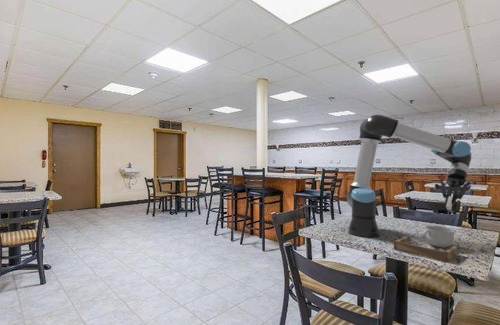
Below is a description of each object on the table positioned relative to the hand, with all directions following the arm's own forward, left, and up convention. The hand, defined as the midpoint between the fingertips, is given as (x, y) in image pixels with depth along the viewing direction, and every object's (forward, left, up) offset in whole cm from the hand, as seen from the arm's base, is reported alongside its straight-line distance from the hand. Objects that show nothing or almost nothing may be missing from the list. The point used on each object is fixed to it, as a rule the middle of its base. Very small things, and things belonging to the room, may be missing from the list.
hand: (448, 208), depth 130 cm
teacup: (-8, -13, -16) cm, 22 cm away
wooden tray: (-15, -25, -15) cm, 33 cm away
